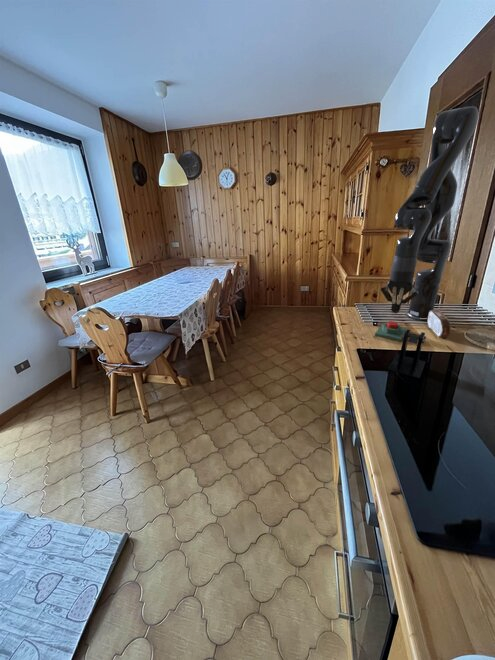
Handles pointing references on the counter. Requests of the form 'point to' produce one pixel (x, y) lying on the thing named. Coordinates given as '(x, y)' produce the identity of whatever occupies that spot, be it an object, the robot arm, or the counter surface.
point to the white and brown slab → (438, 323)
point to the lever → (414, 338)
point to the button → (392, 325)
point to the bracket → (409, 358)
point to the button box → (391, 332)
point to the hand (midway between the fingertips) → (394, 312)
